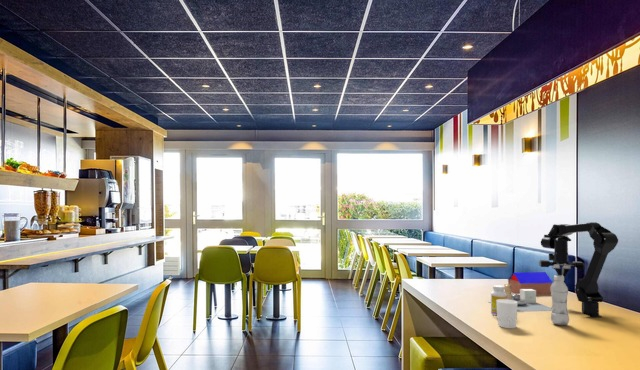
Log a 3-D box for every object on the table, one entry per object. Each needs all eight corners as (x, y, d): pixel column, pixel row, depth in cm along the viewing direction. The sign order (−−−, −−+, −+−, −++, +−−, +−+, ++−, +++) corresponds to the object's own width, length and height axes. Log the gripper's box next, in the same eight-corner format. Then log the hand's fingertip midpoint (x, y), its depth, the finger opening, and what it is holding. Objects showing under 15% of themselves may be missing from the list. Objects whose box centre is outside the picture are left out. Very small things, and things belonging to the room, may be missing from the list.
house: (507, 291, 247) (507, 271, 247) (538, 290, 250) (538, 270, 251) (520, 295, 235) (520, 274, 236) (553, 294, 238) (552, 273, 239)
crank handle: (516, 308, 198) (516, 286, 199) (497, 305, 205) (497, 283, 206) (529, 303, 209) (529, 282, 209) (511, 300, 215) (510, 280, 216)
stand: (558, 312, 196) (558, 297, 196) (509, 313, 193) (509, 298, 194) (532, 303, 216) (532, 289, 216) (487, 303, 213) (487, 289, 214)
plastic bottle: (560, 327, 172) (559, 277, 173) (547, 323, 178) (546, 274, 179) (573, 326, 173) (572, 276, 174) (559, 322, 180) (558, 274, 181)
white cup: (500, 322, 179) (499, 298, 179) (520, 325, 174) (519, 301, 174) (494, 326, 173) (493, 301, 173) (514, 330, 168) (514, 304, 168)
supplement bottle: (508, 317, 187) (508, 287, 188) (492, 316, 188) (492, 287, 189) (505, 313, 193) (504, 285, 194) (489, 313, 195) (489, 284, 195)
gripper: (578, 249, 213) (579, 280, 212) (537, 247, 219) (537, 278, 218) (584, 251, 203) (585, 284, 202) (540, 249, 208) (541, 282, 208)
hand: (561, 282), depth 208 cm, fingers closed
